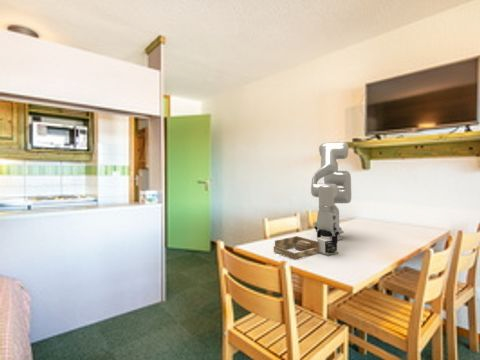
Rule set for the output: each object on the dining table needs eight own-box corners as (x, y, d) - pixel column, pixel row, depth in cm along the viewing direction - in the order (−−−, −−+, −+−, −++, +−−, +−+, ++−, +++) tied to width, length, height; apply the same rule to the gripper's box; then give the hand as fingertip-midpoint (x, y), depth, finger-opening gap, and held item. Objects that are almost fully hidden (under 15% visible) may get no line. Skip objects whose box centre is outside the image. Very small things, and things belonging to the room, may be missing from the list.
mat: (326, 249, 144) (326, 248, 144) (338, 253, 138) (338, 252, 137) (315, 252, 140) (315, 251, 140) (328, 256, 133) (328, 255, 133)
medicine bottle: (325, 254, 134) (325, 231, 134) (317, 250, 141) (316, 228, 141) (337, 253, 137) (337, 229, 136) (328, 249, 143) (328, 227, 143)
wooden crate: (296, 246, 152) (296, 236, 152) (318, 253, 138) (318, 241, 138) (273, 251, 143) (273, 240, 142) (294, 259, 129) (294, 247, 129)
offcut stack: (300, 248, 148) (300, 239, 148) (312, 251, 141) (312, 242, 141) (295, 249, 146) (295, 240, 146) (307, 253, 139) (307, 244, 139)
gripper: (345, 209, 133) (346, 243, 134) (318, 206, 147) (318, 236, 148) (335, 211, 129) (336, 246, 130) (308, 207, 143) (309, 239, 144)
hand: (327, 241), depth 139 cm, fingers open, 9 cm apart
